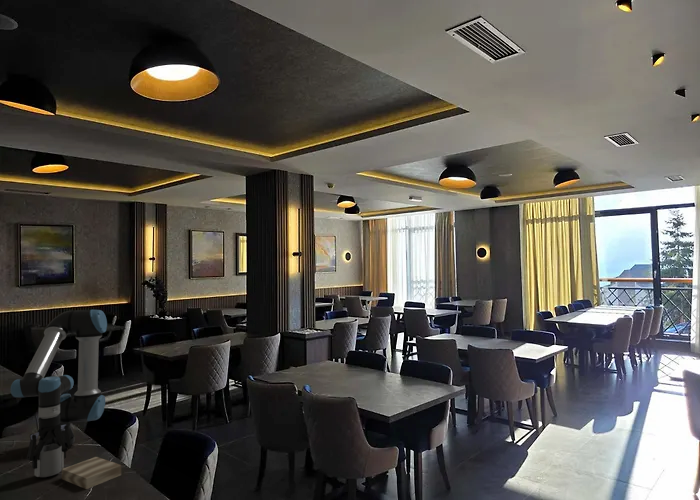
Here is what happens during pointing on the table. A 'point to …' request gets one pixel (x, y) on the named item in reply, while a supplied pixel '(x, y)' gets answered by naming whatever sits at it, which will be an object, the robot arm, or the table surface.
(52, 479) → the table surface
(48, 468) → the cup
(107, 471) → the oak stand
